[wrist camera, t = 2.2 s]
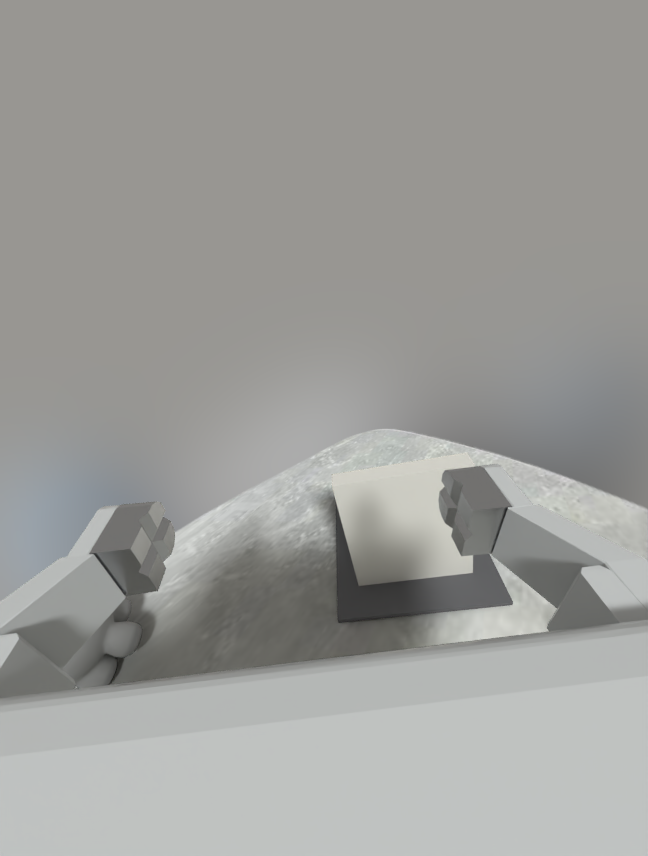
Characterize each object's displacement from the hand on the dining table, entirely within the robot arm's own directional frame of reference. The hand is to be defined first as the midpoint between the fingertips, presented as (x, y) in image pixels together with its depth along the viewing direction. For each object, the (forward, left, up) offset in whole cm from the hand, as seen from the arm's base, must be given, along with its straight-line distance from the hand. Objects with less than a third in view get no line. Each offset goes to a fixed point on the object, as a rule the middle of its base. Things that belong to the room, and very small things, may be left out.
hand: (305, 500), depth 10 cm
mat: (+8, -16, -21) cm, 28 cm away
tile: (+5, -12, -21) cm, 24 cm away
